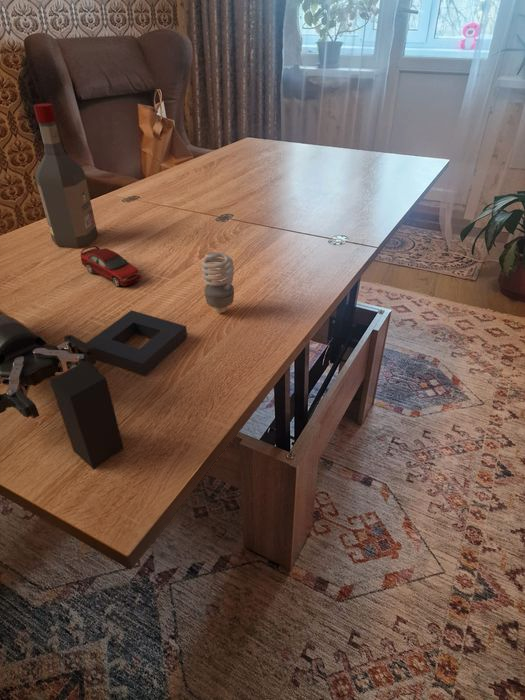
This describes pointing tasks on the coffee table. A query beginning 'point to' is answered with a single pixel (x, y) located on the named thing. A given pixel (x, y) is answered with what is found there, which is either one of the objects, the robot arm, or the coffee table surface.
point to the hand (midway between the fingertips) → (67, 394)
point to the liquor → (63, 188)
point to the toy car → (110, 266)
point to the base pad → (130, 358)
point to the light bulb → (218, 291)
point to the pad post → (88, 413)
